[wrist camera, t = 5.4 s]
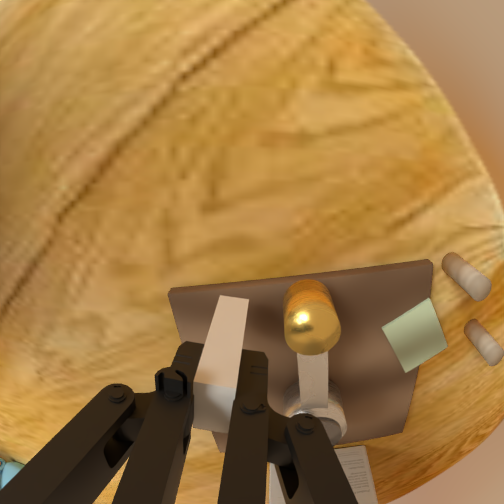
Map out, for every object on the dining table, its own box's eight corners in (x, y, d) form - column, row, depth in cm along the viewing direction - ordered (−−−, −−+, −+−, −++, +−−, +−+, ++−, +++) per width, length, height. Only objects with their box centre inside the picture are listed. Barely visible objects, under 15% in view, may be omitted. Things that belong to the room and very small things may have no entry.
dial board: (170, 284, 19) (149, 318, 16) (491, 246, 17) (525, 269, 14) (220, 445, 25) (215, 481, 21) (451, 412, 23) (466, 442, 19)
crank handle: (339, 412, 21) (346, 451, 18) (285, 418, 22) (285, 458, 18) (340, 269, 17) (356, 303, 14) (267, 277, 18) (265, 314, 14)
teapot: (-7, 440, 33) (-33, 479, 23) (65, 482, 33) (43, 529, 24) (16, 477, 38) (-3, 511, 28) (80, 511, 38) (64, 549, 29)
